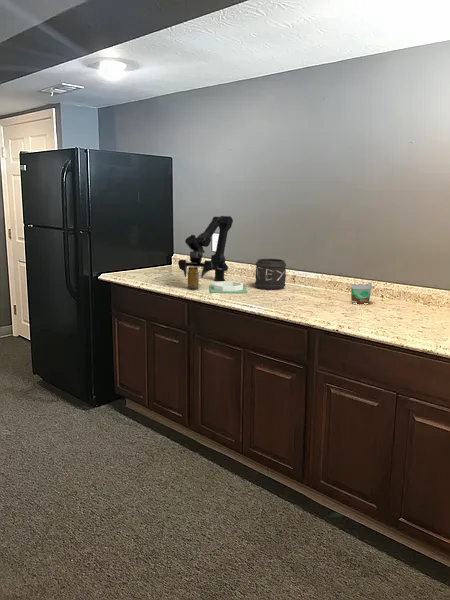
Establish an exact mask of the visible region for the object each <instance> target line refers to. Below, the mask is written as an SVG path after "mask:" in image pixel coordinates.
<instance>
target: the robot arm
mask: <svg viewBox="0 0 450 600" xmlns="http://www.w3.org/2000/svg"><path fill="white" fill-rule="evenodd" d="M210 221H211V222H210V223H209V224H208V225H207V227H206V228H205V230H204V231H203V232H202V233H200V234H199V235H197V237H196V235H195V234H191V235H189V236H187V238H186V239H185V241H184V242H185V244H186V246H187V247H188V248H189V249H190V250H191V251H190V252H189V262H188V261H187V260H186V259H179V260H178V262H177V264H178V267H179V270H181V271H183V275H184V277H185V278H187V274H188V270H187V268H188V267H198V268H202V271H201V273H200V274H201V275H200V277H201V279H202V278H203V277H204V276H205V275H206V274H207V273H208V272H210V271H214V277H213V278H214V279H213V280H214V282H215V281H216V282H226V279H225V272H227V271H228V270H229V267H228V265H227V263H226V258H225V257H226V256H225V254H224V253H225V248H226V244H227V243H226V242H227V237H228V234H229V233H228V232H229V230H230V229H231V228H232V227H233V222H234V219H233V218H232V216H231V215H220V216H213V217H212V220H210ZM218 228H219V229H218ZM217 229H218V230H219V233H218V237H217V243H216V250H215V253H214V254H212V255H211V258H210V260H204V262H202V261H203V256H204V255H203V254H205V253H206V251H205V250H204V247H205V248H206V247H207V248H208V247H209V246H210V244H211V242H212V237H213V235H214V233H215V232H216V231H217Z"/></svg>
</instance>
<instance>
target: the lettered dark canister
mask: <svg viewBox="0 0 450 600" xmlns="http://www.w3.org/2000/svg"><path fill="white" fill-rule="evenodd" d="M255 266H256V267H255V282H254V286H255V287H256V289H258V290H262V291H263V290H264V291H280V290H284V288H285V287H286V274H287V270H286V269H287V268H286V267H287V263H286V262H285V259H280V258H258V259H257V260H256V262H255Z"/></svg>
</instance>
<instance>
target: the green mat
mask: <svg viewBox="0 0 450 600" xmlns="http://www.w3.org/2000/svg"><path fill="white" fill-rule="evenodd" d="M209 293H210V294H248V290H247V287H246V285H245V284H243V290H238V291H219V290H214V284H210V285H209Z"/></svg>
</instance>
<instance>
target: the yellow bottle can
mask: <svg viewBox="0 0 450 600" xmlns="http://www.w3.org/2000/svg"><path fill="white" fill-rule="evenodd" d="M187 268H188V270H187V287H185V289H187V288H188V289H187V290H191V289H192V291H194V290H193V289H197V290H198V291H199V290H203V288H201V287H199V279H200V278H199V267H194V266H188V267H187ZM198 288H199V289H198ZM197 290H196V291H197Z"/></svg>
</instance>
